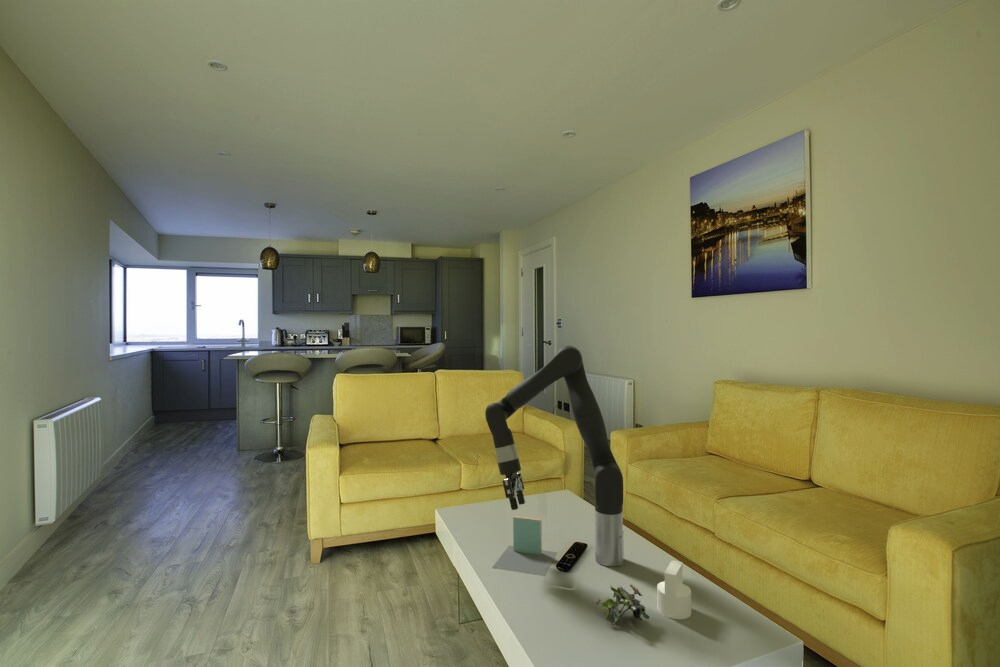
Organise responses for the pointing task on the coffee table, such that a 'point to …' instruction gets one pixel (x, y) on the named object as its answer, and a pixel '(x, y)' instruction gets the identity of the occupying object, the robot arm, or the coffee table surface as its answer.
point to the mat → (525, 561)
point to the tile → (527, 535)
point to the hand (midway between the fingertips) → (518, 506)
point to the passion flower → (627, 600)
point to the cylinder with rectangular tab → (674, 593)
